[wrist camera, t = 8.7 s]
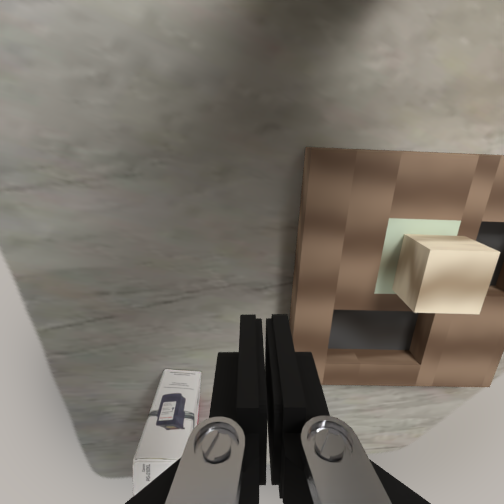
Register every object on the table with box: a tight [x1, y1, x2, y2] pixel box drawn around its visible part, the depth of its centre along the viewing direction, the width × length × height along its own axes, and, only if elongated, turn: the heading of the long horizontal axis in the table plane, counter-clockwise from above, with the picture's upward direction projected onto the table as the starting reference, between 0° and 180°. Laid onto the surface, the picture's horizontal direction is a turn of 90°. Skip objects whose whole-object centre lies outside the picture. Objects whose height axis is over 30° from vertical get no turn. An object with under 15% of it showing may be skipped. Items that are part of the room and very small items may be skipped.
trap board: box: [289, 147, 504, 387], centre depth 33 cm, size 26×24×3 cm
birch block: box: [392, 234, 500, 314], centre depth 29 cm, size 6×6×4 cm
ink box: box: [132, 369, 201, 496], centre depth 35 cm, size 8×5×12 cm, turn 174°
